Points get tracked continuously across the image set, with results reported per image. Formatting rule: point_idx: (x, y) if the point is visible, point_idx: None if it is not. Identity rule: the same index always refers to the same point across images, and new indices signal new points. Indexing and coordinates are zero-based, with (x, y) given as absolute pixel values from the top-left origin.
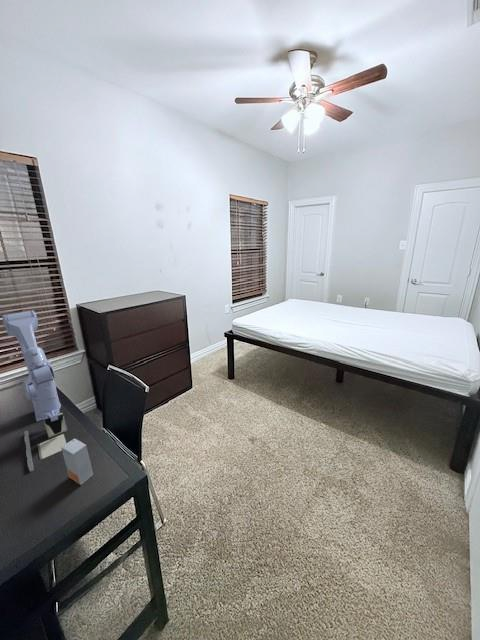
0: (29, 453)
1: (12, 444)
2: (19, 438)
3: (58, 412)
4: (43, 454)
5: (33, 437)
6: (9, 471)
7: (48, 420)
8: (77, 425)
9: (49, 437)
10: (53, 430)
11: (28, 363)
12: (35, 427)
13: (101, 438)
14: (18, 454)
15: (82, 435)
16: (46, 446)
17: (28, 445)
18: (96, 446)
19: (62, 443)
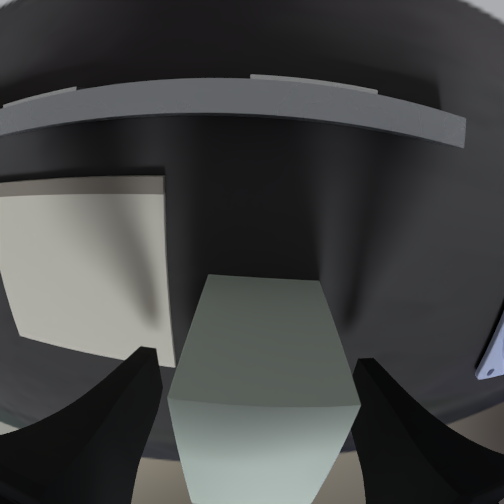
0: (19, 121)
1: (369, 3)
2: (424, 67)
3: (482, 375)
4: (14, 207)
5: (341, 162)
6: (16, 13)
7: (7, 494)
8: None
9: (206, 282)
10: (114, 378)
11: None
12: (479, 214)
13: None
14: (149, 25)
15: None
16: (85, 239)
17: (141, 103)
18: (5, 400)
19: (62, 330)
